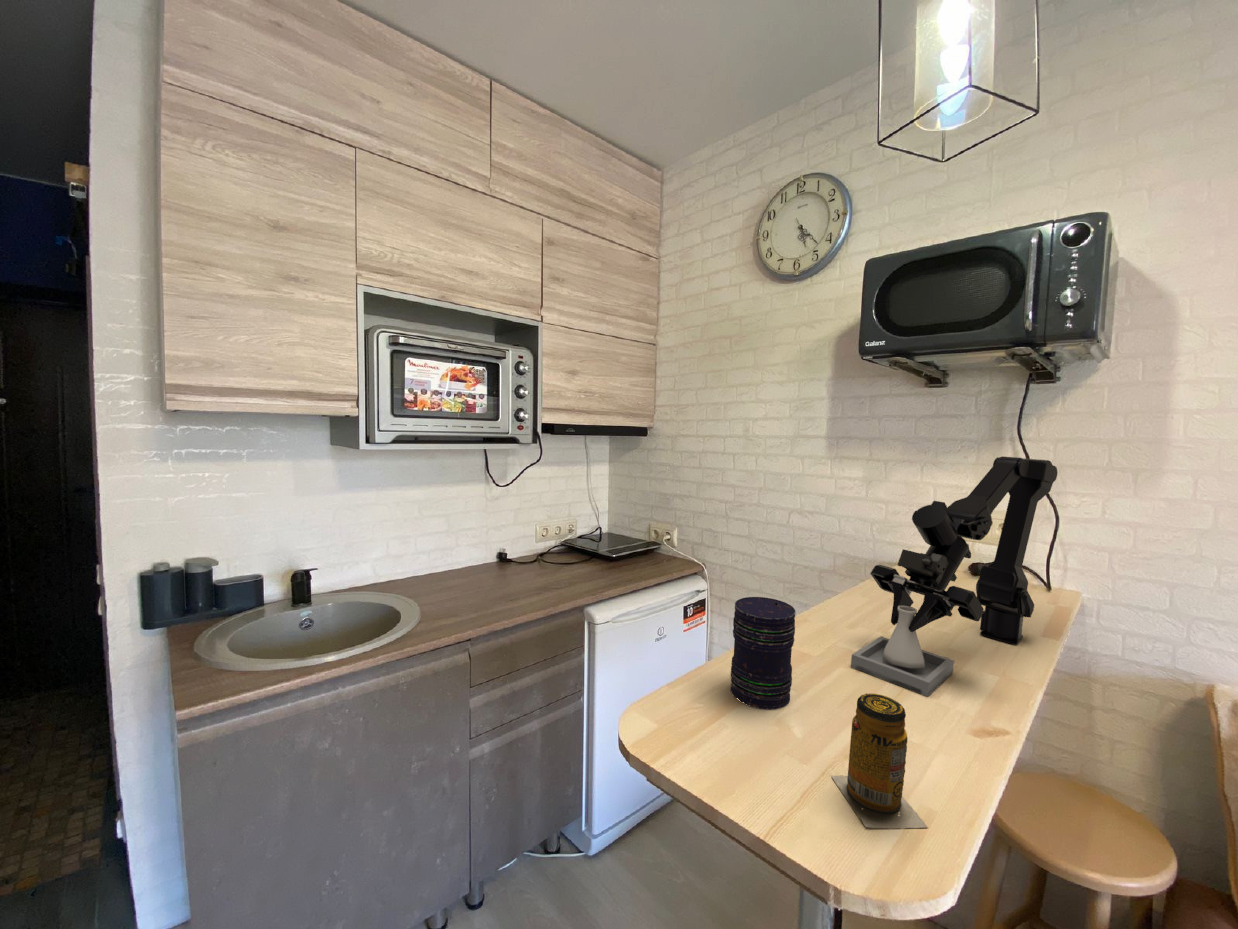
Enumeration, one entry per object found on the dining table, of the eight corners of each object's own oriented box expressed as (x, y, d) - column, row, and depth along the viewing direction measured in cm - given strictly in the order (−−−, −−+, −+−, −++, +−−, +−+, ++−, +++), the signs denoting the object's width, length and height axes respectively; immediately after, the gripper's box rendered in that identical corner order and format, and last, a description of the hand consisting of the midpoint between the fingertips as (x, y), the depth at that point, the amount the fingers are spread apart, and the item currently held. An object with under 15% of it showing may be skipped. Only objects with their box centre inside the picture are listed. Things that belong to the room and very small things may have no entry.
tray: (952, 673, 95) (953, 660, 95) (927, 697, 86) (929, 682, 86) (879, 648, 105) (880, 636, 104) (850, 667, 96) (851, 654, 96)
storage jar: (762, 717, 79) (767, 623, 78) (717, 688, 87) (721, 603, 86) (803, 699, 85) (809, 611, 83) (757, 673, 93) (762, 593, 92)
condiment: (885, 776, 67) (892, 688, 66) (928, 829, 58) (936, 729, 57) (830, 777, 66) (836, 688, 65) (865, 830, 58) (873, 729, 57)
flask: (932, 672, 91) (936, 617, 90) (888, 667, 93) (891, 613, 92) (917, 654, 98) (921, 603, 97) (876, 649, 100) (880, 599, 99)
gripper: (879, 524, 103) (838, 586, 99) (980, 546, 87) (936, 621, 83) (901, 558, 108) (863, 618, 104) (1000, 585, 91) (960, 657, 87)
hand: (901, 627), depth 94 cm, fingers closed on flask, 3 cm apart
